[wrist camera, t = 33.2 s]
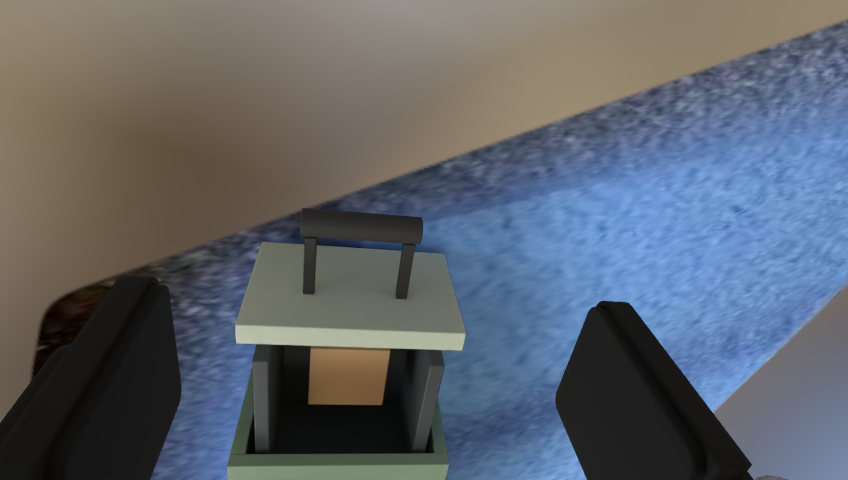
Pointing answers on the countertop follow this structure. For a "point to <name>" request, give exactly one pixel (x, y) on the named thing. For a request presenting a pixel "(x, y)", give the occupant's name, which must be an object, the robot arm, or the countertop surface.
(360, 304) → the pull-out drawer
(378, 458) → the sage drawer box
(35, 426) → the robot arm
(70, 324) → the countertop surface
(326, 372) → the block
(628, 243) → the countertop surface
